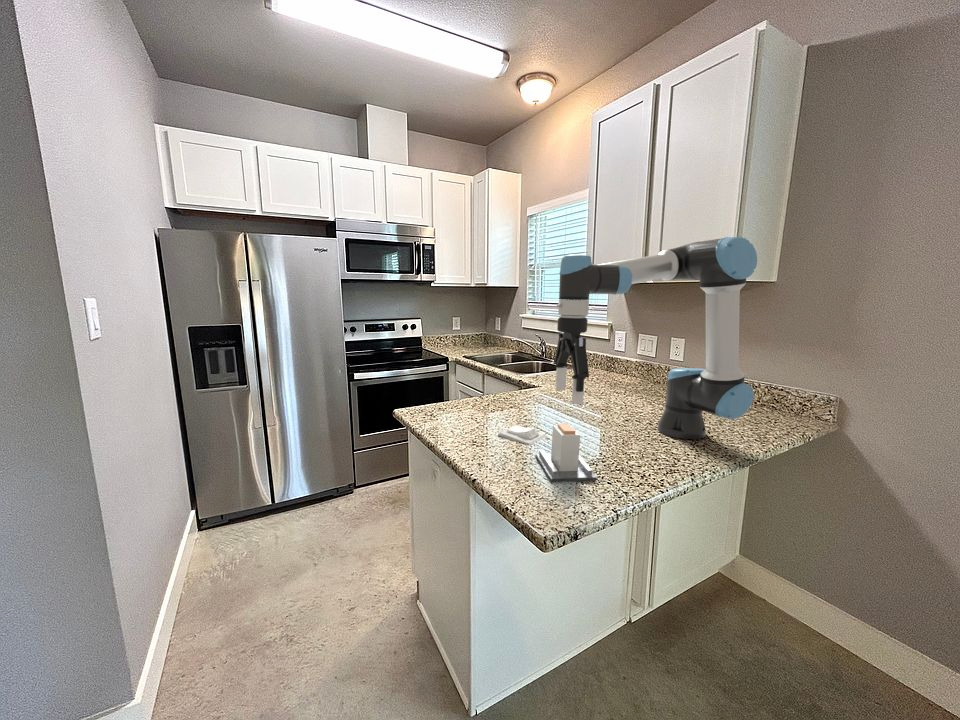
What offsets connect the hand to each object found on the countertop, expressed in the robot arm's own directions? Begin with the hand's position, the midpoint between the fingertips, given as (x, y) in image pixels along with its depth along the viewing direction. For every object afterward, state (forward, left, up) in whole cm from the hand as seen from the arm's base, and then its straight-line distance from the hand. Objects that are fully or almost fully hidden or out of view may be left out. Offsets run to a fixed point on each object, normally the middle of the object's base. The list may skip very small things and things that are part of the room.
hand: (568, 396), depth 103 cm
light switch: (+6, -25, -21) cm, 33 cm away
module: (0, 0, -19) cm, 19 cm away
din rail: (0, 0, -20) cm, 20 cm away
